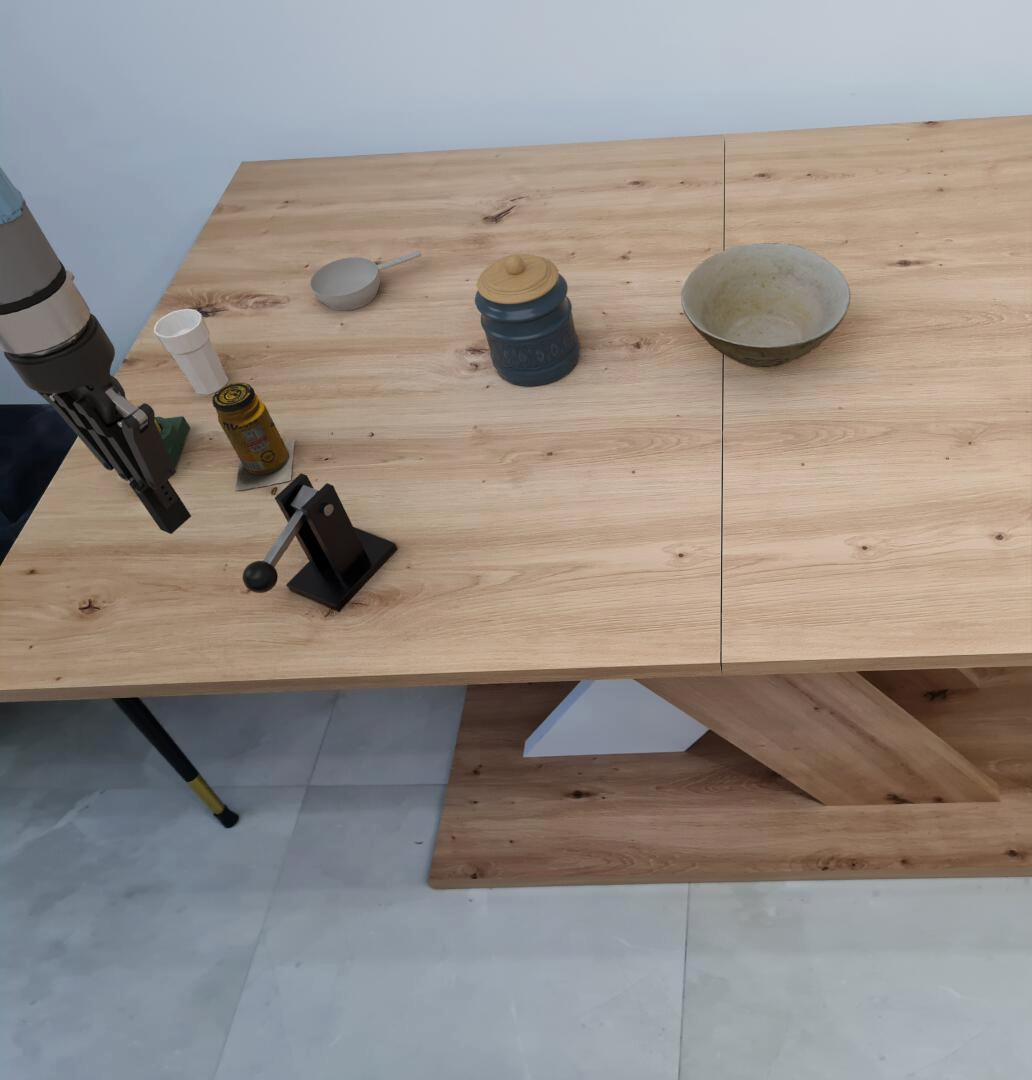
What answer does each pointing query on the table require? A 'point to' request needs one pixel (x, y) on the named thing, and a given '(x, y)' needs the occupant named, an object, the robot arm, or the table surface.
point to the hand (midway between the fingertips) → (176, 522)
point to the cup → (192, 349)
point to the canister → (527, 319)
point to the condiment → (253, 437)
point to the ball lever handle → (277, 548)
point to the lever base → (331, 547)
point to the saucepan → (351, 281)
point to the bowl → (765, 302)
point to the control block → (173, 435)
